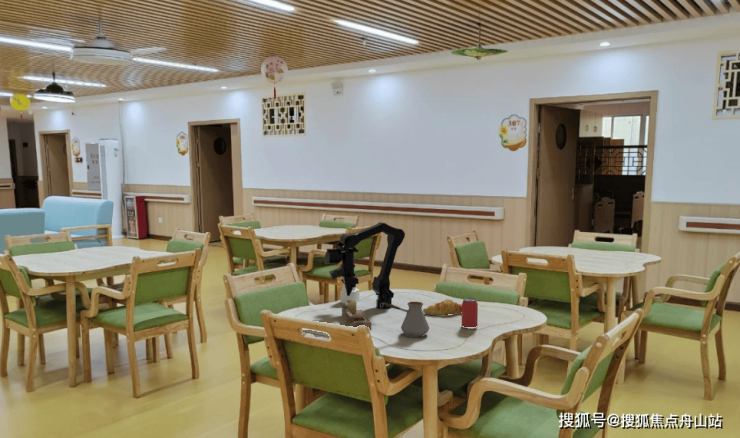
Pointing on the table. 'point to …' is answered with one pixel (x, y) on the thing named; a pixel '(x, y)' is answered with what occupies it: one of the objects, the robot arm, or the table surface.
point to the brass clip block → (351, 306)
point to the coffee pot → (413, 319)
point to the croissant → (444, 308)
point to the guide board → (355, 318)
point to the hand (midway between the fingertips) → (348, 295)
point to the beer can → (469, 312)
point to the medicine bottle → (353, 295)
